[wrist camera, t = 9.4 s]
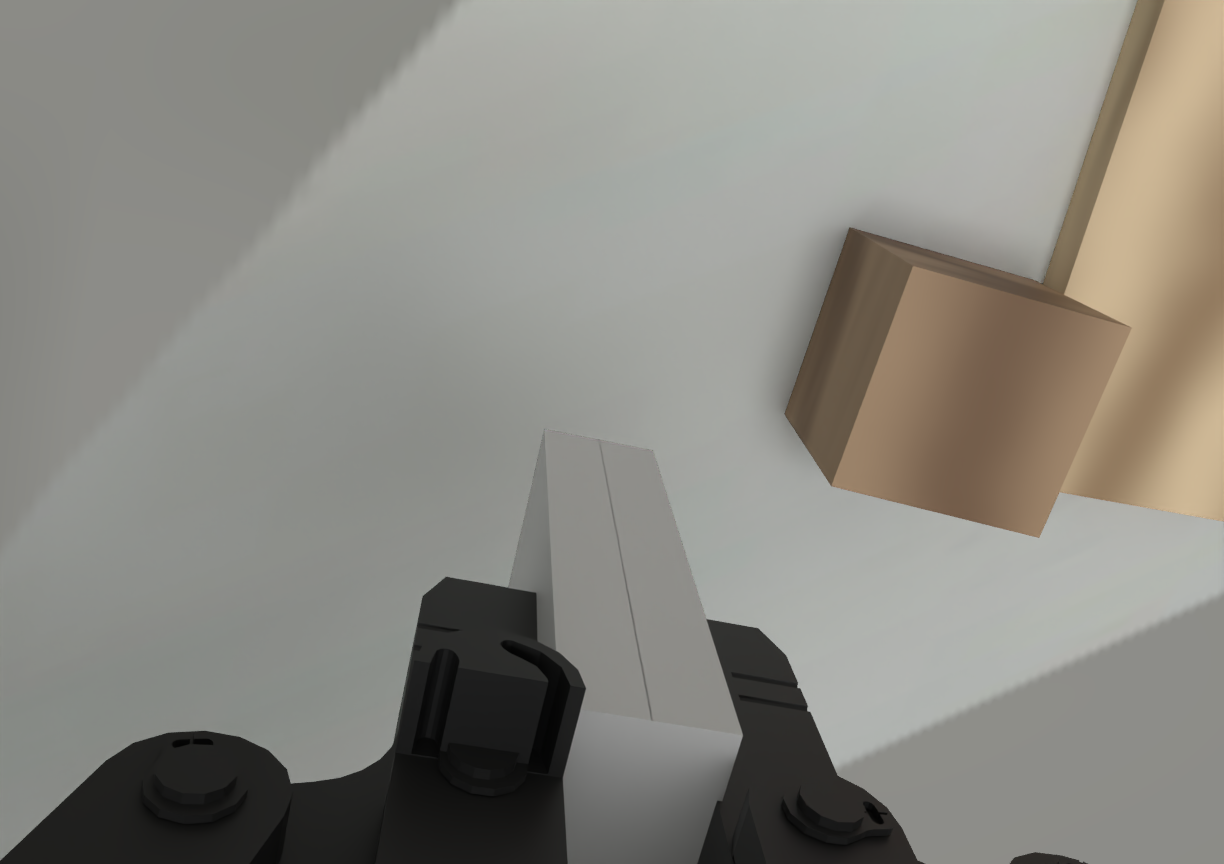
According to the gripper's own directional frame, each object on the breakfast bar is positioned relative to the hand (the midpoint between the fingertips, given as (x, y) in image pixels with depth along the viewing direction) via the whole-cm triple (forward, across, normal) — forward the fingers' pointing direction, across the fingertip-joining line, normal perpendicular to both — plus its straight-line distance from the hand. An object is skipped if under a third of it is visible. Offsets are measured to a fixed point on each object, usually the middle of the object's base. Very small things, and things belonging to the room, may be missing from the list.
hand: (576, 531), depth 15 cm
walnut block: (+19, +11, 0) cm, 22 cm away
